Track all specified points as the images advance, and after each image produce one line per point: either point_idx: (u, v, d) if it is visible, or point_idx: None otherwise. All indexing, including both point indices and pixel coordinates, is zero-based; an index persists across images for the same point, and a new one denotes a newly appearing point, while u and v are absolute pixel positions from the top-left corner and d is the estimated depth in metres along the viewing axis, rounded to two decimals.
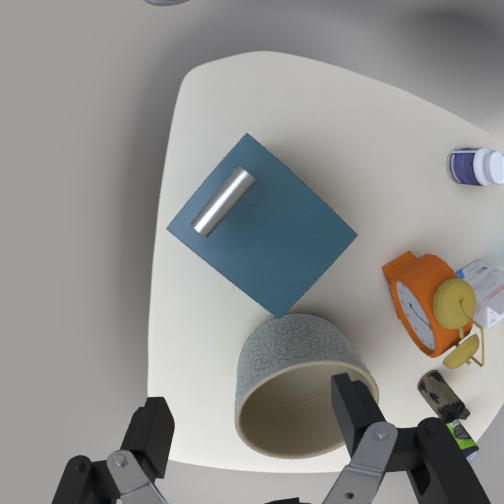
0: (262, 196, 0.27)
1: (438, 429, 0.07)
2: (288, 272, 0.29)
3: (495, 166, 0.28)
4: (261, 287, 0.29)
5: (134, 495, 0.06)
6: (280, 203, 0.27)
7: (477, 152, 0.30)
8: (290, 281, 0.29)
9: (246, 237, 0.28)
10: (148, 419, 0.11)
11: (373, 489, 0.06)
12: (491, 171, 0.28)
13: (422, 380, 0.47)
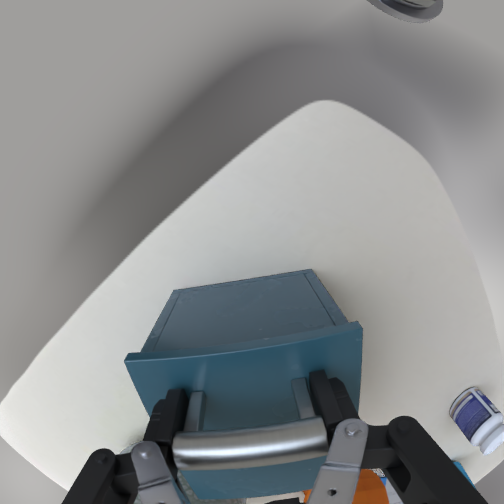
0: (297, 415, 0.14)
1: (410, 428, 0.08)
2: (248, 482, 0.16)
3: (496, 441, 0.21)
4: (204, 477, 0.16)
5: (152, 488, 0.07)
6: None
7: (494, 417, 0.23)
8: (242, 487, 0.16)
9: None
10: (170, 410, 0.11)
11: (354, 483, 0.06)
12: (490, 445, 0.21)
13: None
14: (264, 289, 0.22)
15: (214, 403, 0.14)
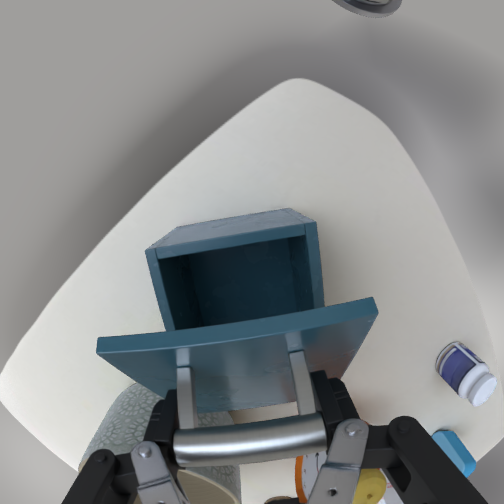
0: (290, 370, 0.14)
1: (410, 428, 0.08)
2: (237, 403, 0.20)
3: (483, 389, 0.26)
4: None
5: (151, 488, 0.07)
6: None
7: (479, 366, 0.28)
8: (231, 406, 0.20)
9: (222, 386, 0.16)
10: (170, 410, 0.11)
11: (355, 483, 0.06)
12: (478, 392, 0.26)
13: (274, 500, 0.41)
14: (250, 217, 0.27)
15: (203, 371, 0.13)
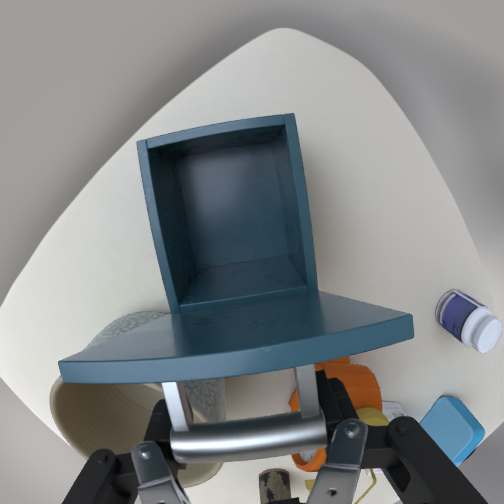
0: None
1: (409, 428, 0.08)
2: None
3: (488, 332, 0.26)
4: None
5: (152, 488, 0.07)
6: None
7: (481, 308, 0.28)
8: None
9: None
10: None
11: (354, 483, 0.06)
12: (482, 335, 0.26)
13: (268, 472, 0.41)
14: None
15: None
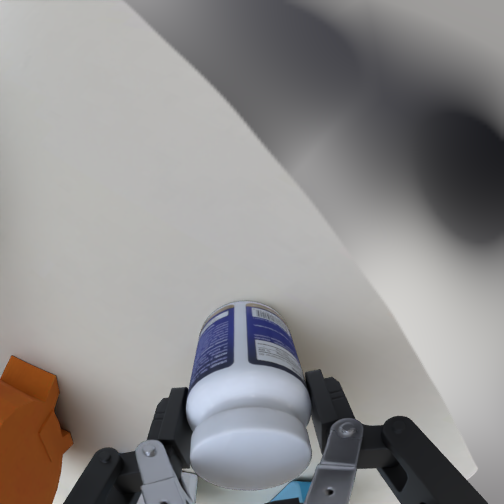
0: None
1: (405, 428, 0.08)
2: None
3: (230, 456, 0.09)
4: None
5: (155, 487, 0.07)
6: None
7: (236, 372, 0.11)
8: None
9: None
10: (174, 409, 0.11)
11: (351, 483, 0.06)
12: (198, 457, 0.09)
13: None
14: None
15: None
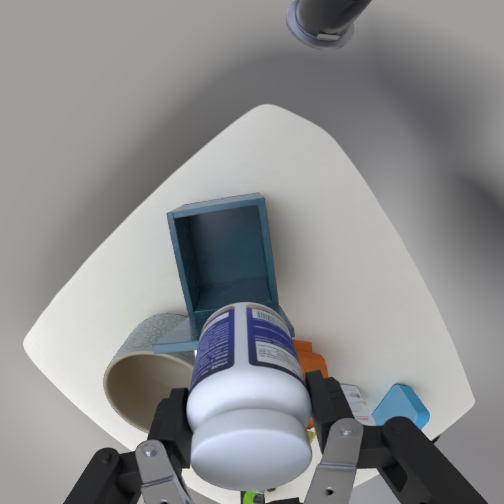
0: None
1: (405, 428, 0.08)
2: None
3: (231, 457, 0.09)
4: None
5: (155, 487, 0.07)
6: None
7: (237, 373, 0.11)
8: None
9: None
10: (174, 409, 0.11)
11: (351, 483, 0.06)
12: (198, 458, 0.09)
13: None
14: None
15: None
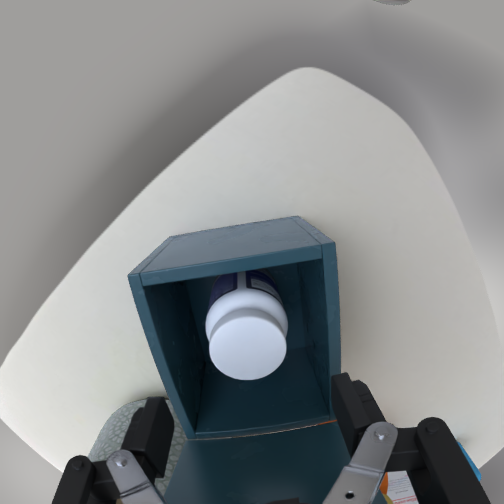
0: None
1: (438, 429, 0.07)
2: None
3: (235, 342, 0.17)
4: None
5: (134, 495, 0.06)
6: None
7: (239, 292, 0.19)
8: None
9: None
10: (148, 419, 0.11)
11: (373, 489, 0.06)
12: (215, 343, 0.17)
13: None
14: (253, 228, 0.23)
15: None
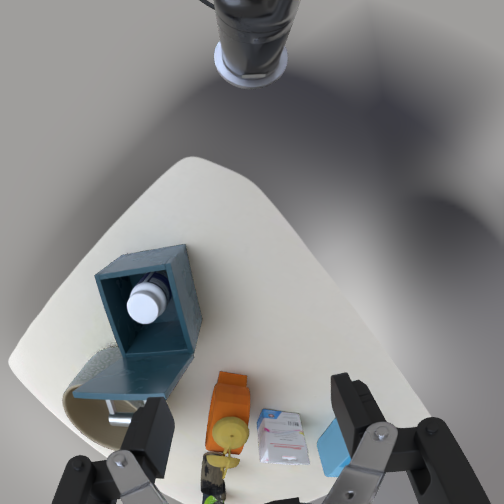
0: None
1: (438, 429, 0.07)
2: None
3: (136, 304, 0.38)
4: None
5: (134, 495, 0.06)
6: None
7: (142, 283, 0.41)
8: None
9: None
10: (148, 419, 0.11)
11: (373, 489, 0.06)
12: (128, 304, 0.38)
13: (208, 453, 0.60)
14: (156, 252, 0.45)
15: None
